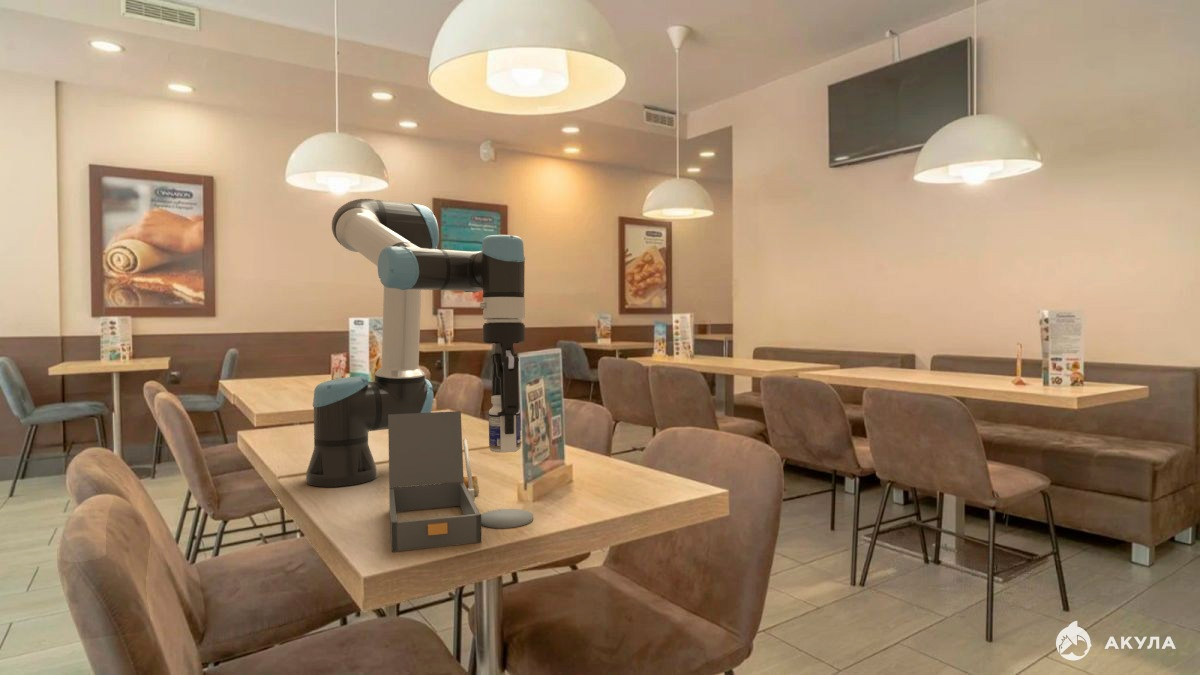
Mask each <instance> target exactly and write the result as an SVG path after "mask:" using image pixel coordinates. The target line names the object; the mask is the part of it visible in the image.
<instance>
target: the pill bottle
mask: <svg viewBox="0 0 1200 675" xmlns="http://www.w3.org/2000/svg"><path fill="white" fill-rule="evenodd" d="M490 397H491V398H490V399H491V400H490V401H491V402H490V403H491V405H492V404H493V405H492V407H491V408H490V409H489V411H488V445H489V446H488V447H489V448H488V449H489V450H490V452H493V453H499V454H500V453H501V448H500V416H498V412H501V411H502V409H501V395H495V396H492V395H491V396H490ZM520 410H521V409H519V412H518V413H516V452H517V451H519V450H520V449H521V447H522V446H521V445H522V441H521V440H522V438H521V436H522V435H521V434H522V432H521V431H522V430H521V411H520Z"/></svg>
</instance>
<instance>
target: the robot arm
mask: <svg viewBox="0 0 1200 675" xmlns="http://www.w3.org/2000/svg"><path fill="white" fill-rule="evenodd" d="M331 231H332V235H333V236H334V238H335V240H336V241H337V242H338V243H339V245H341V246H342V247H343V248H345V249H346V250H349V251H351V252H352V253H353V252H354V253H359V254H361V255H362V257H364V258H366V259H367V260H368V261H370V262H371V263H372V264H373V265H375V266H376V267H377V274H378V278H379V279H380V280H379V281H380V283H381V285H382V286H383V304H382V306H383V308H382V310H383V311H382V343H381V344H382V345H381V346H382V347H381V366H380V367H379V368H378V369H377V370H376V371H375V372H374V381H369V379H368V378H367V377H366V376H363V375H362V376H361V375H358V376H351V377H350V376H347V377H342V378H341V377H340V378H335V379H331V380H327V381H323V382H320V383H318V384H317V385H316V386H315V388H314V390H313V402H312V407H313V440H314V442H313V446H314V447H313V452H312V454H311V457H310V460H309V464H308V467H307V470H306V474H305V476H306V480H305V481H306V484H308V485H309V486H313V487H321V488H323V487H324V488H328V487H330V488H331V487H333V488H335V487H346V486H354V485H359V484H364V483H367V482H370V481H372V480H373V481H374V480H375V479H376V478H377V465H376V462H375V459H374V457H373V454H372V451H371V448H370V446H369V432H375V431H384V430H385V431H386V430H388V415H389V414H410V413H432V410H433V404H434V391H433V384H432V383H431V381H430V380H429V379H427V378H425V375H426V373H425V372H424V371H423V369H422V368H420V366H419V365H420V361H419V360H420V337H421V336H420V335H421V333H420V332H421V306H422V304H421V302H422V300H421V299H422V291H423V290H425V291H427V290H428V291H431V290H432V291H433V290H434V291H435V290H436V291H455V292H456V291H457V292H459V291H460V292H464V293H477V292H482V301H483V302H481V303H480V304H479V307H480V309H483V310H482V313H483V314H482V315H483V316H482V318H483V319H484V320H486V322H484V324H482V332H483V333H482V341H483V343H485V344H495V347H494V353H491V355H490V358H491V374H492V375H491V390H492V391H491V397H492V396H495V395H501V409H502V411H501V412H498V416H500V448H501V453H503V454H505V453H516V452H517V451H516V413H518V412H519V410H520V407H519V404H520V403H519V361H520V358H519V356H518V354H517V353H515V348H514V344H523V343H524V342H525V341H526V334H525V333H526V330H525V329H526V325H525V323H524V322H522V321H523V320H525V319H526V302H525V301H526V298H525V271H526V270H525V269H526V268H525V267H526V266H525V260H526V257H525V254H524V253H525V252H524V241H523V239H522V238H521V237H520V236H517V235H510V234H493V235H487V236H485V237H484V238H483V239H482V245H481V248H480V250H479V251H468V250H467V251H466V250H453V249H452V250H451V249H438V245H439V243H440V232H439V231H440V229H439V224H438V221H437V218H436V215H434V212H433V211H432V210H431V209H430V208H429V207H427V206H426V205H422V204H417V203H413V202H401V201H393V200H392V201H391V200H381V199H373V198H358V199H353V200H351V201H348V202H346V203H344V204H343V205H341V206H340V207H339V208H338V209H337V211H336V212H335V213H334V215H333V217H332V220H331ZM491 405H492V406H493V404H492V403H491Z"/></svg>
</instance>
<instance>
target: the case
mask: <svg viewBox="0 0 1200 675" xmlns="http://www.w3.org/2000/svg"><path fill="white" fill-rule="evenodd" d="M387 430H388V431H387V432H388V436H387V437H388V479H389V480H388V488H389V490H388V492H389V494H388V496H389V497H388V498H389V499H388V500H389V503H388V504H389V521H390V522H389V523H390V541H391V552H392V553H394V552H395V551H396V552H402V551H403V552H406V551H412V550H421V549H422V550H423V549H431V548H441V547H448V546H458V545H467V544H468V545H469V544H477V543H482V525H481V514H482V513H481V512H480V510H479V508H478V506H477V504H476V502H475V496H474V489H473V482H472V468H471V466H472V465H471V460H470V453H469V445H468V443H469V442H468V439H466V438H464V439H463V434H462V430H463V429H462V411H460V410H457V411H456V410H455V411H438V412H432V411H431V413H410V414H389V415H388V429H387ZM463 450H464V459H463ZM464 460H465V467H466V477H468V485H469V488H468V489H467V488H466V486H465V484H464V477H465V476H464ZM455 482H456V483H455ZM442 483H444V484H442ZM452 507H460V509H461V511H462V515H453V516H450V515H449V516H441V517H432V518H431V517H429V518H421V519H420V518H418V519H411V520H410V519H409V520H399V521H397V520H398V519H397V518H398V517H397V512H407V511H419V510H421V511H422V510H430V509H441V508H452Z"/></svg>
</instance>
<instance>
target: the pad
mask: <svg viewBox="0 0 1200 675" xmlns="http://www.w3.org/2000/svg"><path fill="white" fill-rule="evenodd" d="M533 520H534V514H533V513H532V512H531V511H528V510H525V509H519V508H501V509H493V510H490V511H489V510H488V511H486V512H483V513H481V527H486V528H491V529H510V528H511V529H512V528H517V527H523V526H525V525H529V524H530V523H532V522H533Z"/></svg>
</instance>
